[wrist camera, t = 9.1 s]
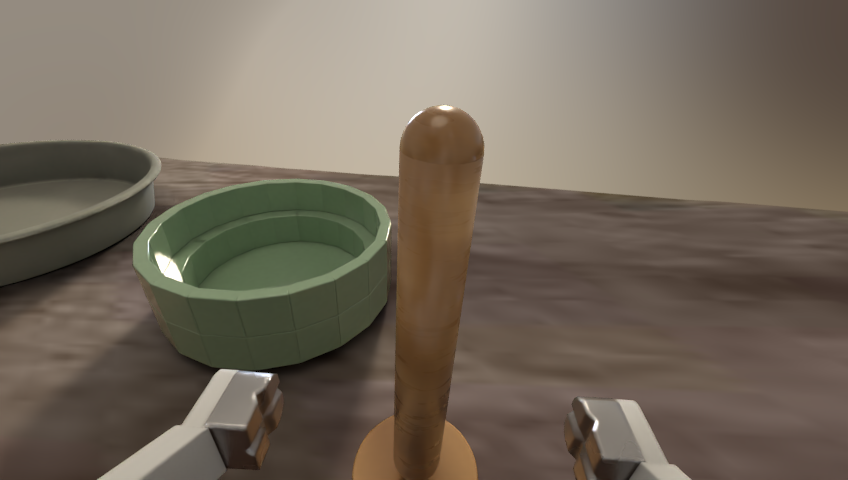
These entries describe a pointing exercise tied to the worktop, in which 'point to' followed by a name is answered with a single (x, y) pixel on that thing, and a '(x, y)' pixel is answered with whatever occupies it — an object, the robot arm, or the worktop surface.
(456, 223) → the wooden peg stand
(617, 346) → the worktop surface
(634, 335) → the worktop surface
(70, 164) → the cake pan
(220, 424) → the robot arm
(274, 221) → the bowl
